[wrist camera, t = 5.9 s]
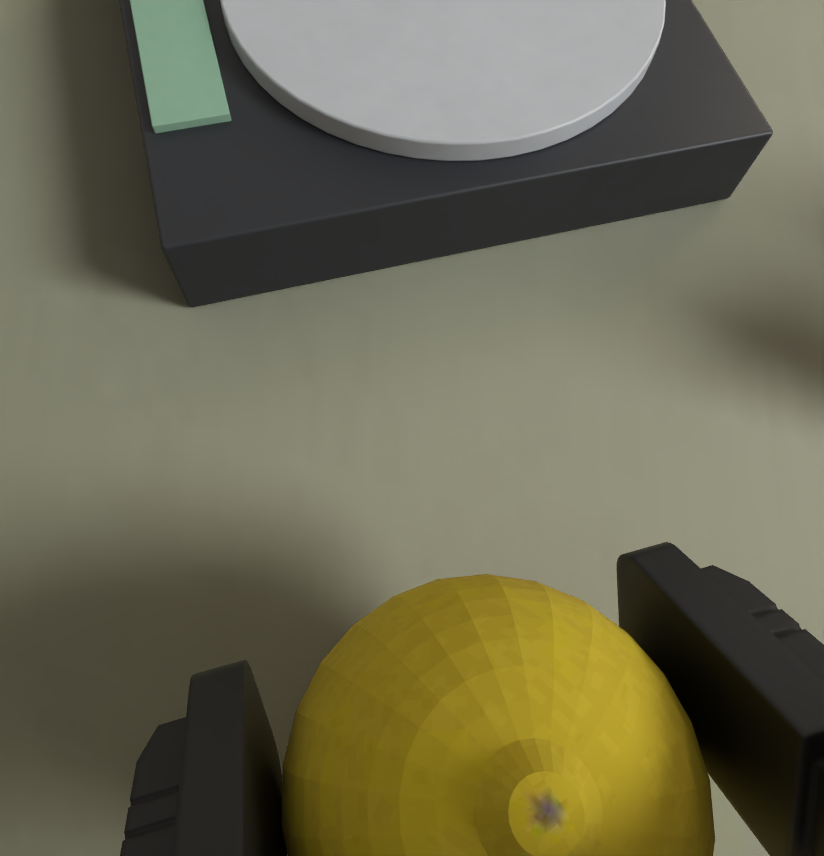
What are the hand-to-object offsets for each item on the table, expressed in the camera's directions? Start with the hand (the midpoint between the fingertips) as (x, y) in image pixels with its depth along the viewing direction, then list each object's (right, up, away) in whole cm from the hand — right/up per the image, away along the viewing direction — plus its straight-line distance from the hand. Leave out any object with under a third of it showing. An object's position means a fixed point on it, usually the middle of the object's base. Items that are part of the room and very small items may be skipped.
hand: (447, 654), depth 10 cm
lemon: (0, -3, +4) cm, 5 cm away
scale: (-1, +14, +10) cm, 17 cm away
